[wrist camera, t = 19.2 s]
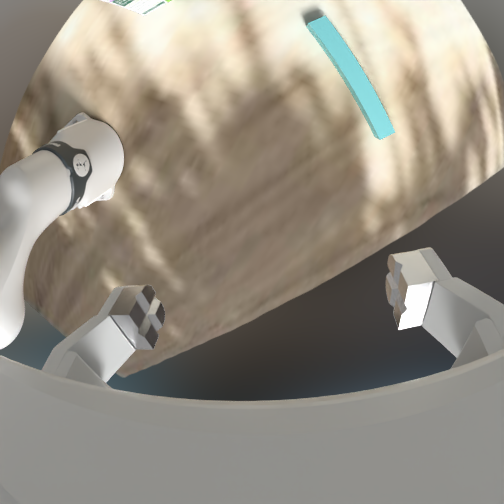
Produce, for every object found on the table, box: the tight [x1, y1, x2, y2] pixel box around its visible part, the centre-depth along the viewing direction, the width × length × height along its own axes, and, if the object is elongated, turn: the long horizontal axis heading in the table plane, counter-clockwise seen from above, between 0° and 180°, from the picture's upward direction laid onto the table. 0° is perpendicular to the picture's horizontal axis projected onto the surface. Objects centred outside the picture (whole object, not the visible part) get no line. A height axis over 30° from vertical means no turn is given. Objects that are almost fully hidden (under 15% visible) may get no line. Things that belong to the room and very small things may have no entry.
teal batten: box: [306, 16, 395, 140], centre depth 32 cm, size 21×3×3 cm, turn 35°
